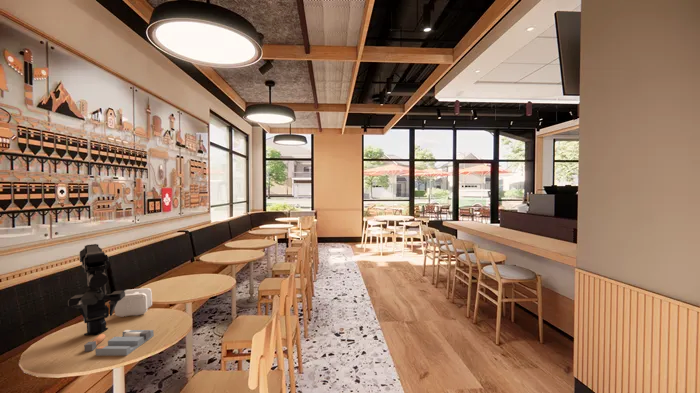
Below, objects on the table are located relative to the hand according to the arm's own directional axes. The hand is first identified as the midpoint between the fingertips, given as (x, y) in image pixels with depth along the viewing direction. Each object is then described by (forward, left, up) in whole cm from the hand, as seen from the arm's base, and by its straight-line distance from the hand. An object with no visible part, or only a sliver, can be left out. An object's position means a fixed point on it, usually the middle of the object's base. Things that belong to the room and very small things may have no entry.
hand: (98, 317), depth 133 cm
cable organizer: (-9, +33, -12) cm, 36 cm away
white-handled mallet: (+14, +3, -11) cm, 18 cm away
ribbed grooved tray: (+13, -1, -12) cm, 18 cm away
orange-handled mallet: (-1, 0, -12) cm, 12 cm away
